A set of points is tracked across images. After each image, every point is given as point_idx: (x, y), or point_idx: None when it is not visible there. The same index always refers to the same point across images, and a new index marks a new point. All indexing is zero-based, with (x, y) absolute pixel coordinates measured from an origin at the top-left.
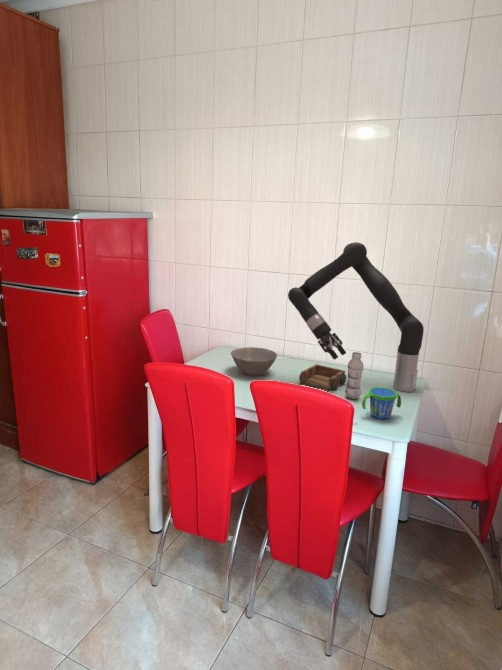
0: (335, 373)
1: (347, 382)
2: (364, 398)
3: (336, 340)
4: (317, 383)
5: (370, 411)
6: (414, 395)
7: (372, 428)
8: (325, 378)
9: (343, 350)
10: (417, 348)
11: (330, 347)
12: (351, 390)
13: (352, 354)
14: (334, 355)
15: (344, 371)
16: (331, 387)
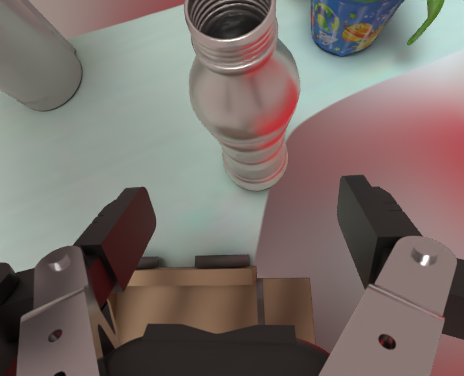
0: None
1: (272, 164)
2: (437, 4)
3: (79, 329)
4: None
5: (366, 45)
6: (95, 34)
7: (461, 4)
8: None
9: (131, 208)
10: None
11: (450, 279)
12: (285, 145)
13: (259, 41)
14: (392, 200)
15: None
16: (248, 266)
